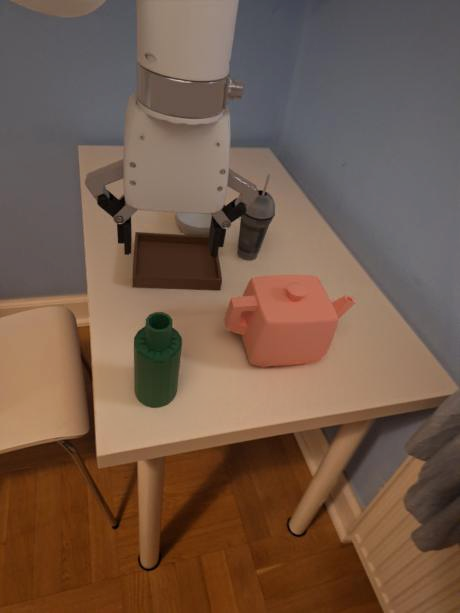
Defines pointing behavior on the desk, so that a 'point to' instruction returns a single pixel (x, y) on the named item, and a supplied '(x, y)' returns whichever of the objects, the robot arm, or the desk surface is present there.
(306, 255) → the desk surface
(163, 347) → the bottle
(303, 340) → the teapot
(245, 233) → the beverage cup
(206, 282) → the tray
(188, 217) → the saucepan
